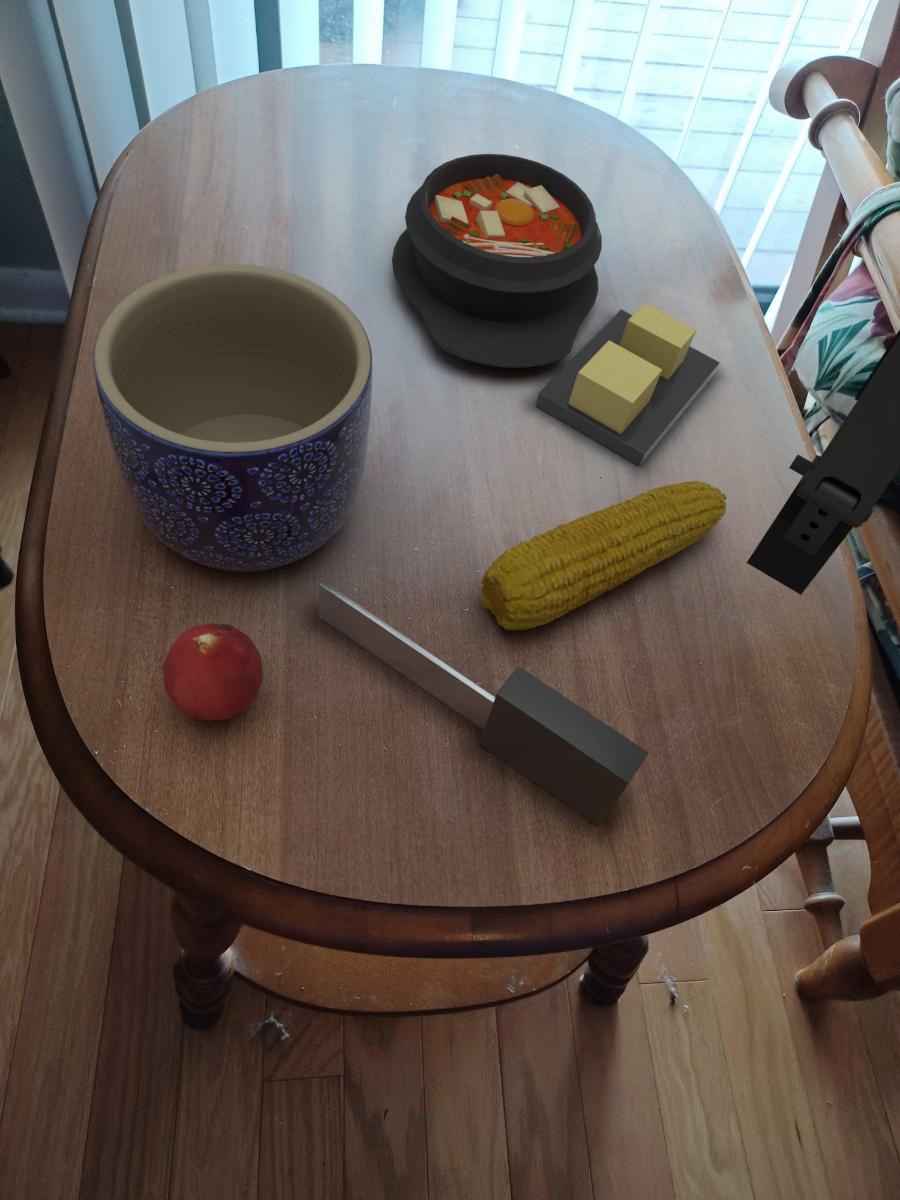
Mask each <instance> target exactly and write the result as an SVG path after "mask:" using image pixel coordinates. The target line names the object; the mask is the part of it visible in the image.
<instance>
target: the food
mask: <svg viewBox="0 0 900 1200" xmlns="http://www.w3.org/2000/svg"><path fill="white" fill-rule="evenodd" d="M727 499H728V497H727V495H726V494H725V493H722V492H721V489H720V487H714V486H712V485H711V484H710V483H706V482H704V481H700V480H693V481H682V482H679V483H672V484H667V485H663V486H660V487H656V488H652V489H651V490H647V491H646V492H641V493H640V494H638V495H636V496H633V497H631V498H629V499H628V498H626V499H625V500H624V501H622V502H619V503H617V504H612V505H610V506H609V507H606V508H604V509H600V510H597V511H595V512H592V513H589V514H587V515H582V516H580V517H579V518H576V519H574V520H571V521H568V522H567V523H565V524H559V525H558V526H556V527H553V528H551V529H549V530H547V531H545V532H543V533H541V534H539V535H534V537H530V539H529V540H526V541H520V542H519V543H518V544H517V545H514V546H513V547H511V548H510V549H507V550H505V551H504V552H503V553H502V554H500V556H499V557H498V558H496V559H494V561H492V562H491V565H490V566H489V567H488V568H486V570H485V572H484V574H482V576H481V580H480V582H481V584H483V585H482V586H481V594H482V595H483V596H482V598H481V602H482V605H483V608H486V609H487V610H489V611H491V614H492V615H493V616H495V619H496V621H497V625H499V626H500V627H501V628H504V629H505V630H507V631H525V630H529V629H530V630H531V629H534V628H537V627H539V626H544V625H546V624H548V623H551V622H553V621H554V620H556V619H558V618H561V617H562V616H564V615H567V614H568V613H569V612H571V611H573V610H575V609H577V608H580V607H581V606H582V605H585V604H587V603H588V602H590V601H593V600H594V599H595V600H596V598H597V597H599V596H601V595H603V594H604V593H605V592H607V591H610V590H613V589H614V588H616V587H618V586H620V585H621V584H623V583H625V582H627V581H628V580H631V579H633V578H634V576H637V575H639V574H641V573H642V572H644V570H647V568H651V567H652V566H653V567H654V566H657V565H658V564H659V563H661V562H662V561H664V560H667V559H668V558H670V557H672V556H674V555H675V554H676V555H677V554H678V553H679V552H680V551H683V550H685V548H686V547H689V546H692V545H693V544H695V543H696V542H699V540H700V539H701V538H703V537H704V536H705V535H706V534H707V533H709V532H710V531H711V529H712V528H713V527H715V526H716V525H717V524H719V521H720V520H721V519H722V518H721V517H724V516H725V514H726V513H727V509H726V508H727V503H726V502H725V500H727Z"/></svg>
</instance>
